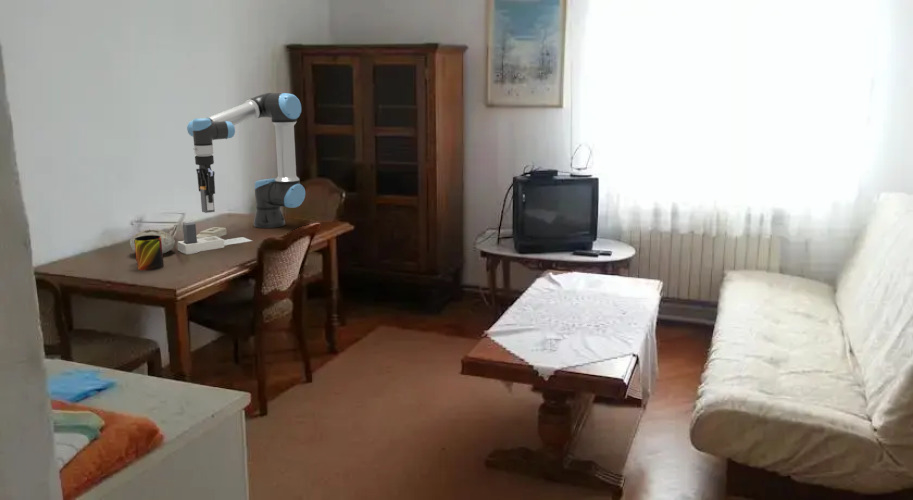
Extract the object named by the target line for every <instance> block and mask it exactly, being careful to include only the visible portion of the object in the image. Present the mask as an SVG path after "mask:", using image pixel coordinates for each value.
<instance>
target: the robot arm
mask: <svg viewBox="0 0 913 500" xmlns="http://www.w3.org/2000/svg"><path fill="white" fill-rule="evenodd" d="M301 113H302V104H301V101H300V99H299V98H298V97H297V96H296V95H295V94H293V93H288V92H265V93H262V94H259V95H256V96H254V97H251V98H249V99H247V100H245V102H244V103H242V104H240V105H237V106H234V107H231V108H228V109H225V110H224V111H221V112H219V113H218V112H217V113H215V114H213V115H210V116H207V117H202V118H198V117H197V118H193V120H190V121H189V122H188V123H187V126H186V130H187V134H189V136H190V137H192V139H193V151H194V155H195V156H194V160H195V161H194V162H195V165H197V166H198V168H196V169H195V171H196V175H197V187H198V192H199V193H200V186H206V192H207V194H205V195H206V202H207V210H214V209H215V204H214V205H213V196H214V195H216V184H215V171H213V170H212V167H211V165H214V163H215V160H214V159H215V158H214V155H213V154H214V146H213V141H214V140H215V141H216V140H227V139H232V138H233V137H234V136H235V133H236V128H235V126H236V125H238V124H241V123H243V122H247V121H248V120H250V119H251V120H258V119H261V118H271V123H272V124H273V125H274V127H275V128H274V129H275V130H274V131H275V145H276V163H277V176H276V177H274V178H265V179H259V180H256V181H255V182H254V196H255V197H254V198H255V207H256V210H255V215H254V218H253V226H254V228H259V229H273V228H274V229H275V228H279V227H283V226H285V225H286V221H285V220H286V219H285V217H284V215H283V214H284V213H283V212H282V209H281V207H285V208H288V209H289V208H290V209H291V208H292V209H294V208H298V207H300V206H301V205H302V204H303V202H304V201H305V198H306V190H305V187H304V186H303V185H302V184H301V181H300V177H299V176H297V165H296V164H297V163H296V143H295V127H294V126H295V125H296V123H298V122H297V121H298V118H299V117H300V116H301Z"/></svg>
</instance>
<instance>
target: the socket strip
mask: <svg viewBox="0 0 913 500" xmlns="http://www.w3.org/2000/svg"><path fill="white" fill-rule="evenodd" d="M182 230H183V231H182V233H183V240H181V241H177V251H178V252H180V253H182V254H184V255H186V256H187V255H192V254H197V253H198V252H199V253H200V252H204V251H210V250H216V249H222V248H223V249H224V248H225V245H224V240H225V239H224V238H222V237H216V236H212V237H205V238H199V239H197V236H196V235H197V225H196V221H194V220H185V221H182ZM199 253H198V254H199Z"/></svg>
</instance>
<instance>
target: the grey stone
mask: <svg viewBox="0 0 913 500" xmlns="http://www.w3.org/2000/svg"><path fill="white" fill-rule="evenodd" d="M147 235H157V236H161V243H162V253H163V254H167V252H169V251H171V250H172V249H173V248H174V247H175V244H176V241H175V238H174V237H173V236H172V235H171V234H170V233H169V232H165V230H161V229H158V228H157V229H143V230H142V231H139V232H137V233H136V234H134V235H132V237H131V238H130V240H129V245H130V248H131V250H132V251H134V252H135V242H134V240H135V238H137V237H140V236H147Z"/></svg>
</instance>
